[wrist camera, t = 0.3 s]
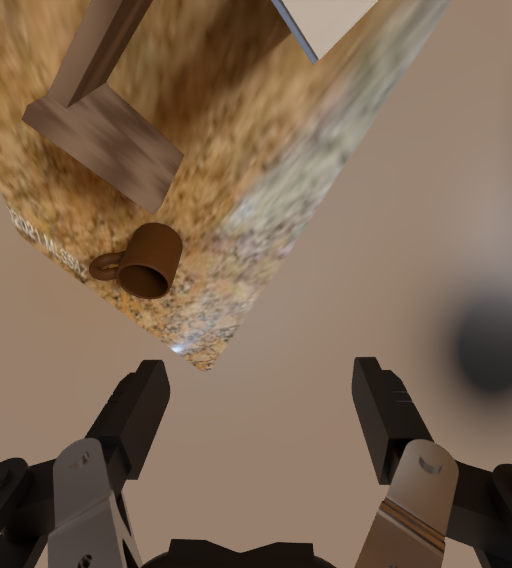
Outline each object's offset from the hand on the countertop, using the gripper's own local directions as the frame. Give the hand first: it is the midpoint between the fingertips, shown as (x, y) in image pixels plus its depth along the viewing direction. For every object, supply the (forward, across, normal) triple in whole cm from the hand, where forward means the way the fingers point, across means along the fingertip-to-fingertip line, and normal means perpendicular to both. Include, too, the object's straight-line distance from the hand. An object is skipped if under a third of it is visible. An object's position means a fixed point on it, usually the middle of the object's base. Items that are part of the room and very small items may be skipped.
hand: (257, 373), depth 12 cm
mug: (+35, +20, +4) cm, 41 cm away
